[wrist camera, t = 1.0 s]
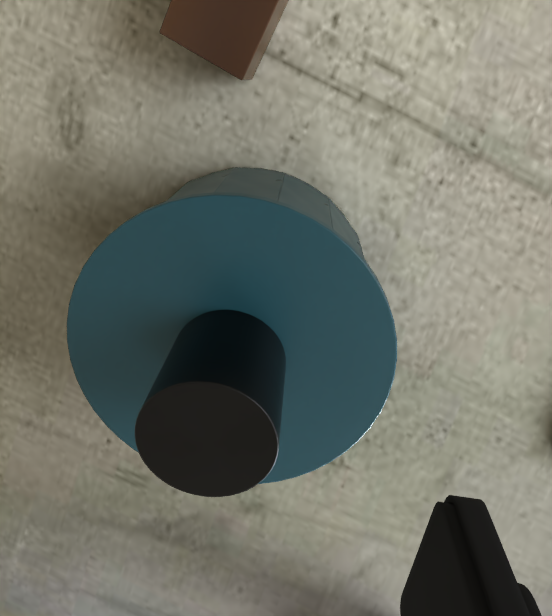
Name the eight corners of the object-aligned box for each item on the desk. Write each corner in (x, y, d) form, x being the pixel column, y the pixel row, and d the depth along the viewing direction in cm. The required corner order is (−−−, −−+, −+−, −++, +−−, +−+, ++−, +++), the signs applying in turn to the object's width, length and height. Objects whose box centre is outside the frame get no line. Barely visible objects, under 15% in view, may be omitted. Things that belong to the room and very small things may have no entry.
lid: (39, 393, 25) (-47, 495, 19) (145, 119, 19) (69, 141, 13) (295, 506, 27) (291, 630, 21) (460, 292, 21) (519, 378, 15)
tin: (109, 319, 32) (46, 397, 24) (194, 120, 27) (147, 140, 19) (295, 408, 34) (291, 506, 26) (410, 240, 29) (447, 301, 21)
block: (180, 38, 25) (158, 32, 21) (214, -48, 23) (196, -70, 20) (252, 79, 26) (242, 81, 22) (289, -2, 24) (285, -15, 20)
